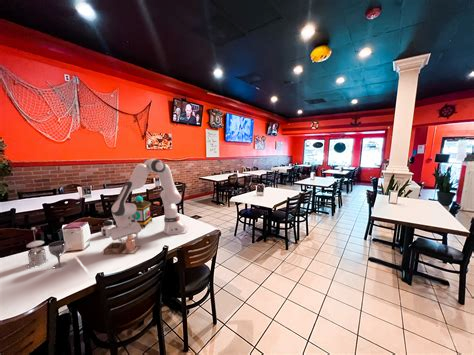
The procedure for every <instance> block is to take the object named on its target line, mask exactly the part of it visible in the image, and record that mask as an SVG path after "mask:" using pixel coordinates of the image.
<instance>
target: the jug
mask: <svg viewBox="0 0 474 355" xmlns="http://www.w3.org/2000/svg"><path fill="white" fill-rule="evenodd" d="M125 242H126V251H127V252H131V251H134V250H135V246H136V239H135V237H134V236H133V234H132V235H129V236H126V239H125Z"/></svg>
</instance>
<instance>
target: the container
mask: <svg viewBox="0 0 474 355" xmlns="http://www.w3.org/2000/svg"><path fill="white" fill-rule="evenodd" d="M114 227H117V225H116V224H115V225H114V223H113V220H111V219H106V220H104V222H103V227H101V229H100V231H101V237H105V238H110V237H111V234H110V232H109V230H110V229H111V228H114Z"/></svg>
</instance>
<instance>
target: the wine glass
mask: <svg viewBox="0 0 474 355" xmlns="http://www.w3.org/2000/svg"><path fill="white" fill-rule="evenodd" d="M47 247H48V251H49V253H50V254H51V255H52V256H54V257H56V259H57V261H58V262H57V263H55V264H53V265H54V266H53V265H52V266H53V267H55V268H54V269H60V268H62V267H64V266H66V265H67V261H61V256H62V254H63V253H64V252H65V251H66V241H65V240H58V241H54V242H51V243H49V244H48V246H47Z"/></svg>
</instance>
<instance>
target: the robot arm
mask: <svg viewBox="0 0 474 355" xmlns="http://www.w3.org/2000/svg"><path fill="white" fill-rule="evenodd" d="M150 173H157V175H158V179H159V182H160V186H161V188H162V190H161V191H160V193H159V195H160V198H161V200H162V204H163V208H164V209H163V210H164V217H163V218H164V219H163V220H164V228H163V230H162V231H163V233H164V234H166V235H167V236H171V235H182V234H184V235H185V234H186V233H187V232H188V231H189V227H188V226H187V225H186V222H185V221H183V220H181V219H180V215H178V208H177V205H176V204H179V203H180V202H181V200H182V195H181V193H179V191H178V189H177V187H176V184H175V182H174V178H173V175H172V171H171V168H170V166H169V165H168V164H166V163H165V162H164V161H162V160H161V159H157V158H148V159H145V160H143V162H142V163H138V164H136V165H135V167H134V169H133V171H132V173H131V176H130V178H129V179H128V181H126V182H125V183H124V185H123V187H121V190H120V192H119V193H118V196H117V198H116V200H115V201H114V203H113V204H112V206H111V208H110V209H111V214H112V216H113V220H114V221H115V226H116V227H114V228H111V229H110V230H109V232H110V234H111V236H110V237H111V239H112V241H116V240H118V241H119V242H122V244H123V243H125V242H126V240H124V239H123V238H127V236H130V235H132V236H133V235H135V236H134V238H135V240H137V239H138V238H139V237H138V236H139V233H140V232H142V230H143V228H142V225H140V224H139V223H137V220H136V219H129V218H128V217H130V216H132V215H134V214H135V213H136V211H137V207H136V205H135V204H133V202H126V201H127V199H128V197H129V195H130V194H131V192H132V191H135V190H138V189H141V188H143V187H144V186H145V184H146V182H147V178H148V176H149V174H150Z"/></svg>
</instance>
